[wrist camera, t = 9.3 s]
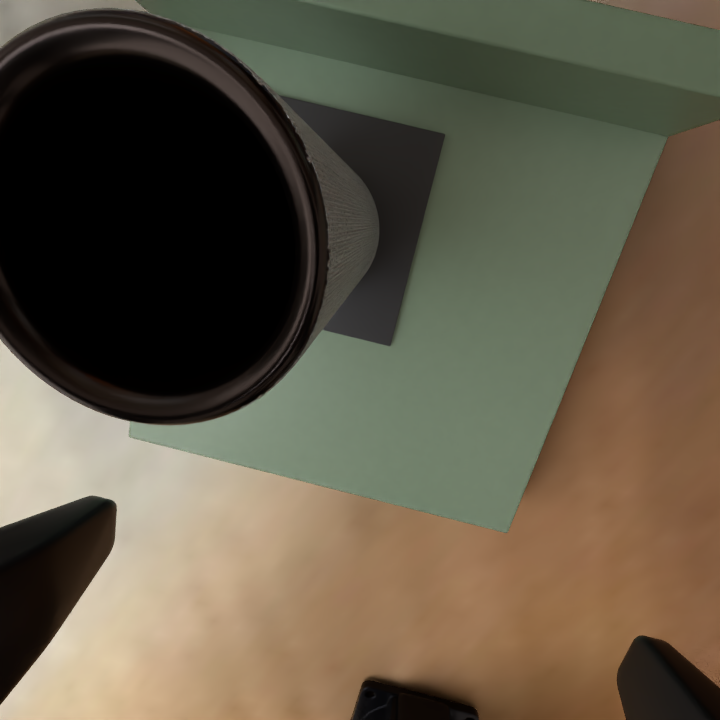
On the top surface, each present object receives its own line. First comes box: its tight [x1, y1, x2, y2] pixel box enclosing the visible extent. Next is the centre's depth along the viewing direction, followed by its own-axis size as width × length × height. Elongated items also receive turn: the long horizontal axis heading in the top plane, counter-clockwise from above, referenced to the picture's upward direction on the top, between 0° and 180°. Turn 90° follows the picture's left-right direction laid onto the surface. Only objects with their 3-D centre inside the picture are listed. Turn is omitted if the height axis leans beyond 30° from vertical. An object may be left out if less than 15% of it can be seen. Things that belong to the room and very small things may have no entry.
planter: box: [0, 8, 379, 426], centre depth 10 cm, size 4×4×10 cm
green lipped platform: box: [129, 0, 720, 533], centre depth 15 cm, size 16×16×6 cm
